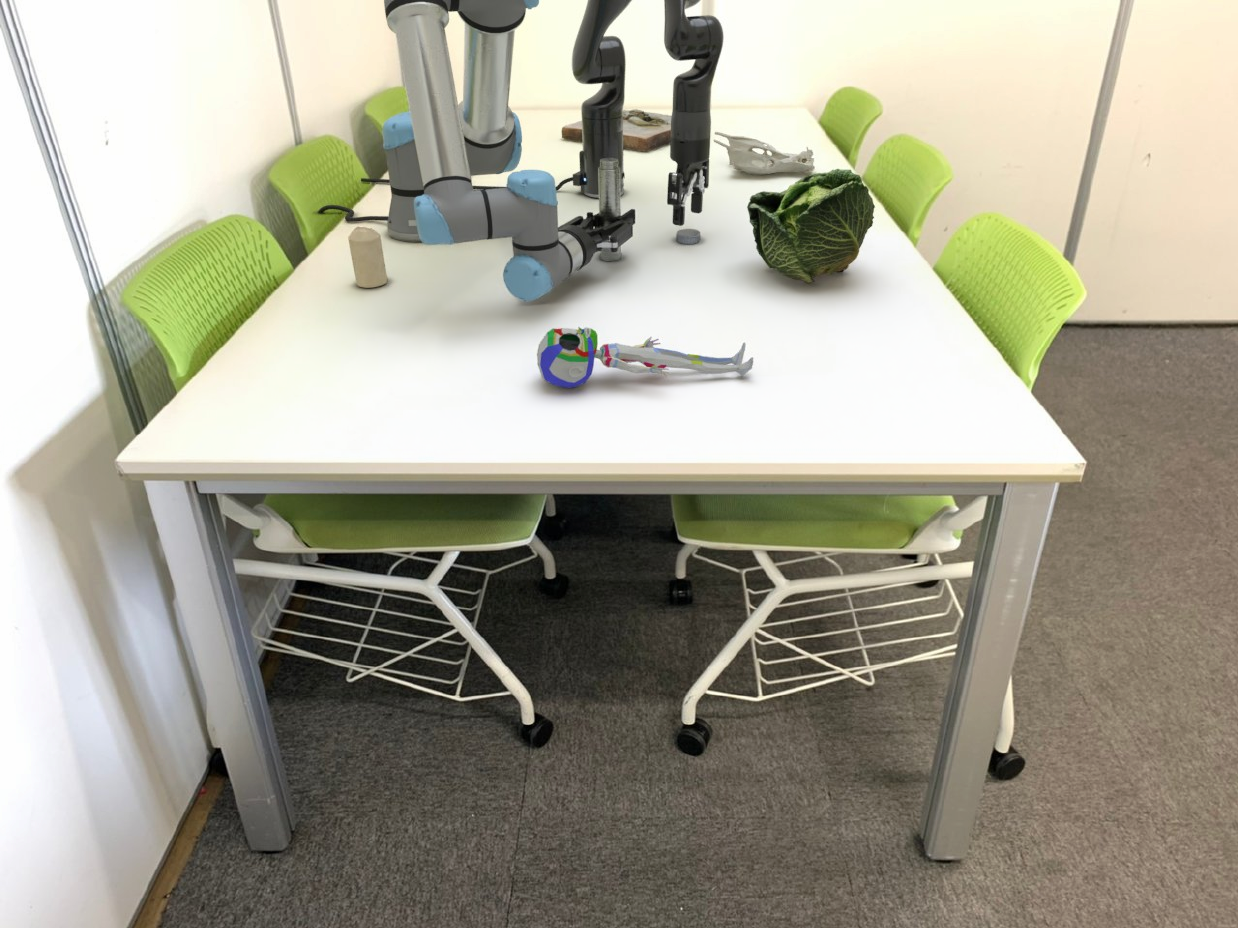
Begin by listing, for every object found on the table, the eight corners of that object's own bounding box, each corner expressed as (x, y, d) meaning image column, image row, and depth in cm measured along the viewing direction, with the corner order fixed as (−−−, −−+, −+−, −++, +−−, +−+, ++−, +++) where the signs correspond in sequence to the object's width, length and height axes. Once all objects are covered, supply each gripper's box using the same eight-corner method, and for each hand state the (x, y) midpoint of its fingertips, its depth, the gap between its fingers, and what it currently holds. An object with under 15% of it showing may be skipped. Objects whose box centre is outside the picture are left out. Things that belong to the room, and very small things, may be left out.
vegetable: (773, 300, 170) (724, 207, 162) (854, 244, 171) (810, 148, 164) (823, 314, 152) (771, 210, 144) (914, 251, 153) (867, 144, 145)
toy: (760, 356, 123) (541, 338, 118) (747, 410, 127) (536, 395, 123) (743, 326, 131) (539, 309, 127) (732, 378, 136) (534, 363, 131)
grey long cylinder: (623, 260, 170) (622, 161, 161) (602, 262, 170) (600, 163, 160) (618, 253, 174) (617, 156, 164) (598, 255, 173) (596, 158, 163)
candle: (393, 278, 163) (384, 224, 158) (377, 289, 159) (367, 234, 154) (367, 275, 165) (358, 222, 160) (350, 286, 160) (340, 231, 155)
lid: (676, 236, 182) (677, 228, 181) (700, 237, 182) (700, 229, 181) (675, 244, 178) (675, 236, 177) (699, 244, 177) (700, 236, 177)
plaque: (647, 125, 237) (559, 112, 252) (647, 153, 241) (560, 139, 256) (706, 107, 258) (622, 97, 273) (705, 133, 262) (622, 121, 277)
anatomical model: (715, 128, 226) (815, 127, 222) (715, 165, 231) (813, 164, 227) (711, 142, 214) (818, 141, 210) (711, 181, 219) (815, 181, 215)
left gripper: (523, 266, 159) (583, 228, 177) (610, 280, 153) (663, 239, 171) (520, 225, 155) (581, 190, 173) (609, 237, 149) (663, 200, 167)
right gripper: (688, 124, 176) (685, 206, 184) (655, 140, 165) (654, 226, 174) (723, 128, 173) (719, 211, 181) (693, 144, 162) (689, 232, 171)
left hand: (622, 214), depth 172 cm, fingers closed on grey long cylinder, 4 cm apart
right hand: (687, 218), depth 178 cm, fingers open, 8 cm apart
